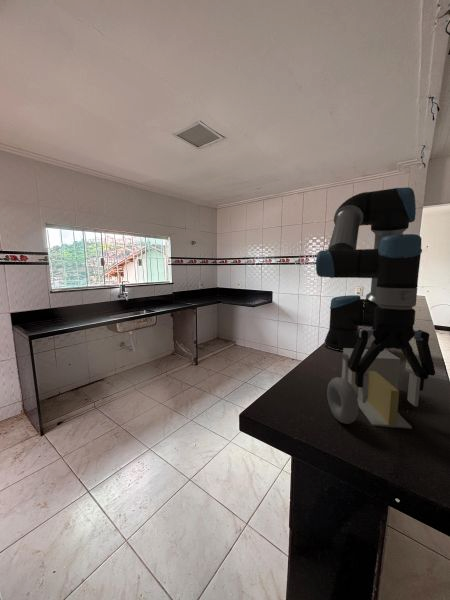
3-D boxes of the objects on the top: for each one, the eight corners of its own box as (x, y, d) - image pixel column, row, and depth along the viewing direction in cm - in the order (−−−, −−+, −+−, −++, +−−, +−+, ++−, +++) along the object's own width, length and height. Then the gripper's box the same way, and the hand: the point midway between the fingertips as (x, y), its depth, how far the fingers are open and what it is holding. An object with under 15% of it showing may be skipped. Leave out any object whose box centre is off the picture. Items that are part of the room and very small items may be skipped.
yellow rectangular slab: (388, 425, 56) (391, 390, 55) (367, 399, 67) (369, 371, 66) (396, 425, 56) (399, 391, 55) (373, 400, 67) (375, 371, 66)
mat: (353, 398, 68) (353, 397, 68) (384, 400, 67) (385, 399, 67) (372, 425, 57) (372, 423, 57) (411, 428, 56) (411, 426, 56)
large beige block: (338, 382, 78) (340, 347, 77) (382, 384, 77) (385, 349, 75) (347, 394, 71) (349, 356, 69) (397, 398, 69) (400, 359, 68)
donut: (323, 408, 64) (325, 370, 62) (336, 408, 64) (339, 370, 63) (344, 434, 54) (347, 389, 52) (360, 433, 54) (363, 389, 53)
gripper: (346, 308, 54) (340, 406, 56) (465, 310, 51) (453, 414, 53) (335, 303, 61) (330, 390, 64) (439, 305, 58) (430, 396, 61)
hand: (386, 401), depth 59 cm, fingers open, 10 cm apart
